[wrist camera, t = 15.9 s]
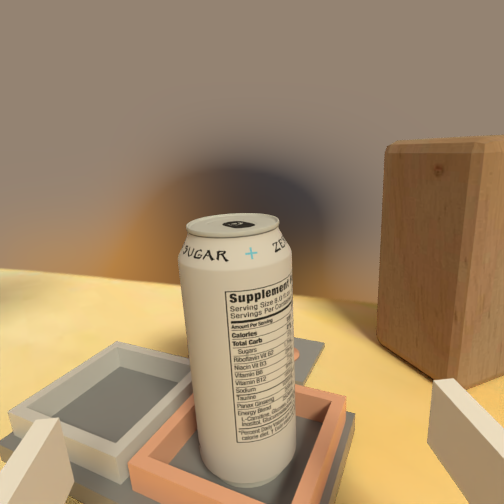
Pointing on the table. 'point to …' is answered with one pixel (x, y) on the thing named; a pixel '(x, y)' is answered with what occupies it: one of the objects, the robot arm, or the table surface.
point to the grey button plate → (305, 358)
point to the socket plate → (171, 435)
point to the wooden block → (444, 257)
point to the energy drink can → (240, 344)
